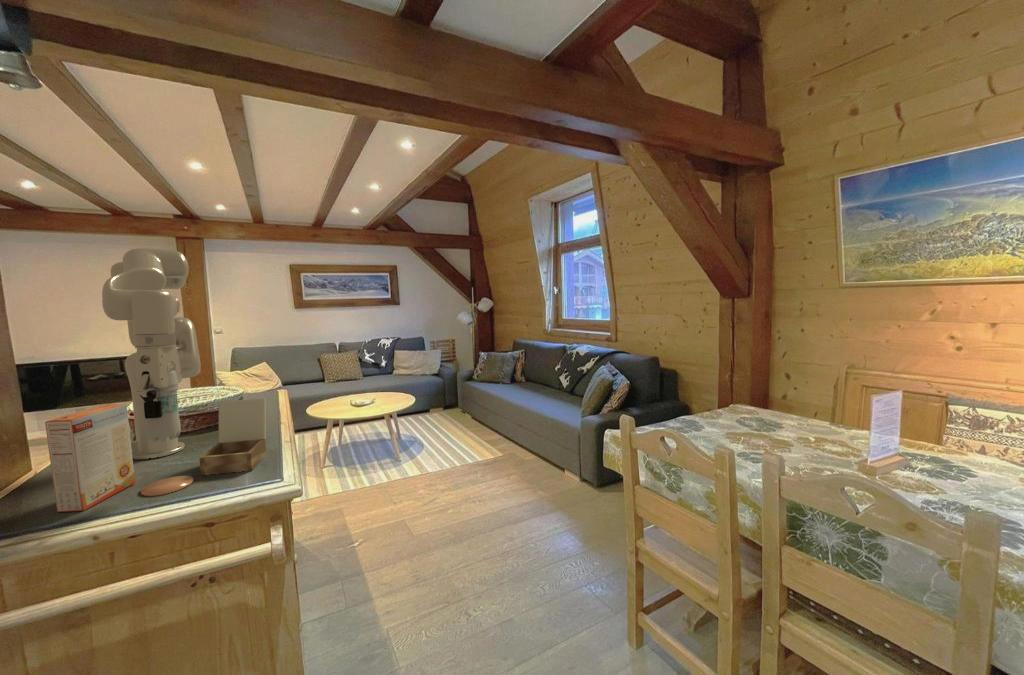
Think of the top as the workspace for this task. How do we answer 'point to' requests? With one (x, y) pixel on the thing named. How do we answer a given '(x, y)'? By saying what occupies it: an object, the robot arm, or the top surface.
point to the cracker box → (90, 456)
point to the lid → (241, 420)
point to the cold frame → (233, 457)
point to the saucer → (166, 485)
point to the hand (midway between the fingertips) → (161, 413)
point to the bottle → (166, 413)
